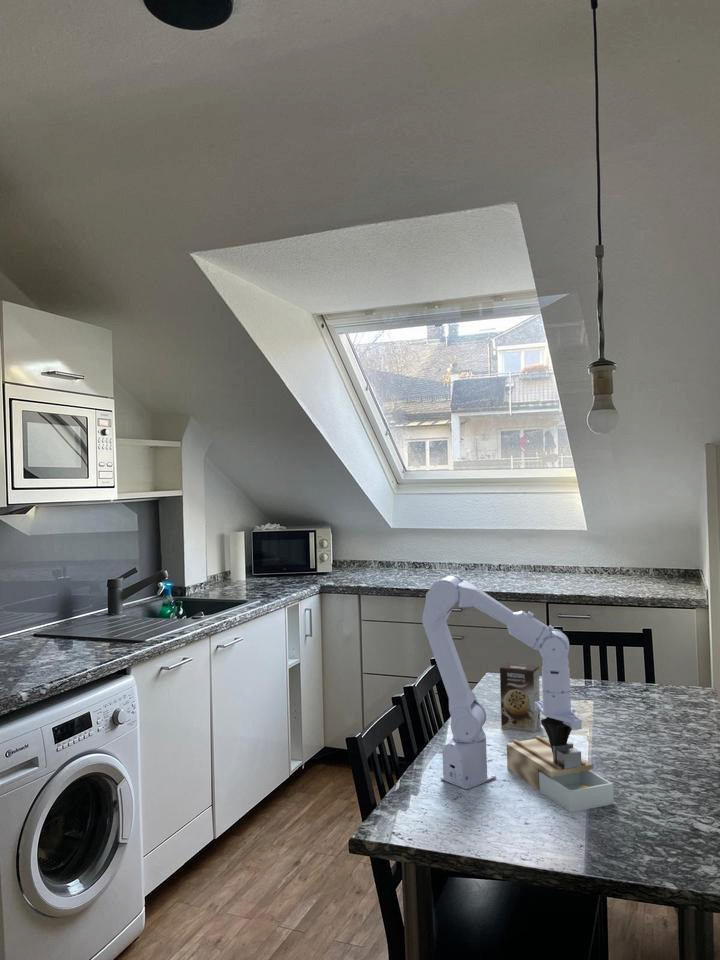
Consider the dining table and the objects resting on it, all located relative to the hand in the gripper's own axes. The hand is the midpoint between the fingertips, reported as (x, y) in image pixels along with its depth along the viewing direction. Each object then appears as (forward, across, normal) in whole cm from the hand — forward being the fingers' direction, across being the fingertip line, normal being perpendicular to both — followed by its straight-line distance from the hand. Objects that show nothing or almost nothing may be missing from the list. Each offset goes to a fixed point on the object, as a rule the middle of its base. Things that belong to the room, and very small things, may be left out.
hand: (558, 754), depth 157 cm
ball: (+5, -9, 0) cm, 10 cm away
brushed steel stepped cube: (+1, -3, 0) cm, 3 cm away
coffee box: (+7, +36, -12) cm, 39 cm away
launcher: (+7, +5, 0) cm, 8 cm away
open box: (+7, -6, 0) cm, 9 cm away
